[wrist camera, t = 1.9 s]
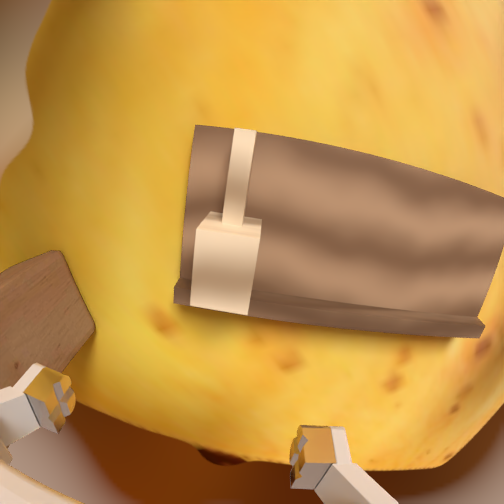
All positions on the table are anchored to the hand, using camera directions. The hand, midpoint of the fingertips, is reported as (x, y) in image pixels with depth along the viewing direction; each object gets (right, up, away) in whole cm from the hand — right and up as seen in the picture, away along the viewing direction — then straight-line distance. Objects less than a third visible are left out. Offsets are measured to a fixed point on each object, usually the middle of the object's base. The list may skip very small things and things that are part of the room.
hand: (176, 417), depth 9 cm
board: (+12, +7, +17) cm, 22 cm away
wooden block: (-20, +1, +21) cm, 29 cm away
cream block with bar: (+1, +9, +15) cm, 17 cm away
